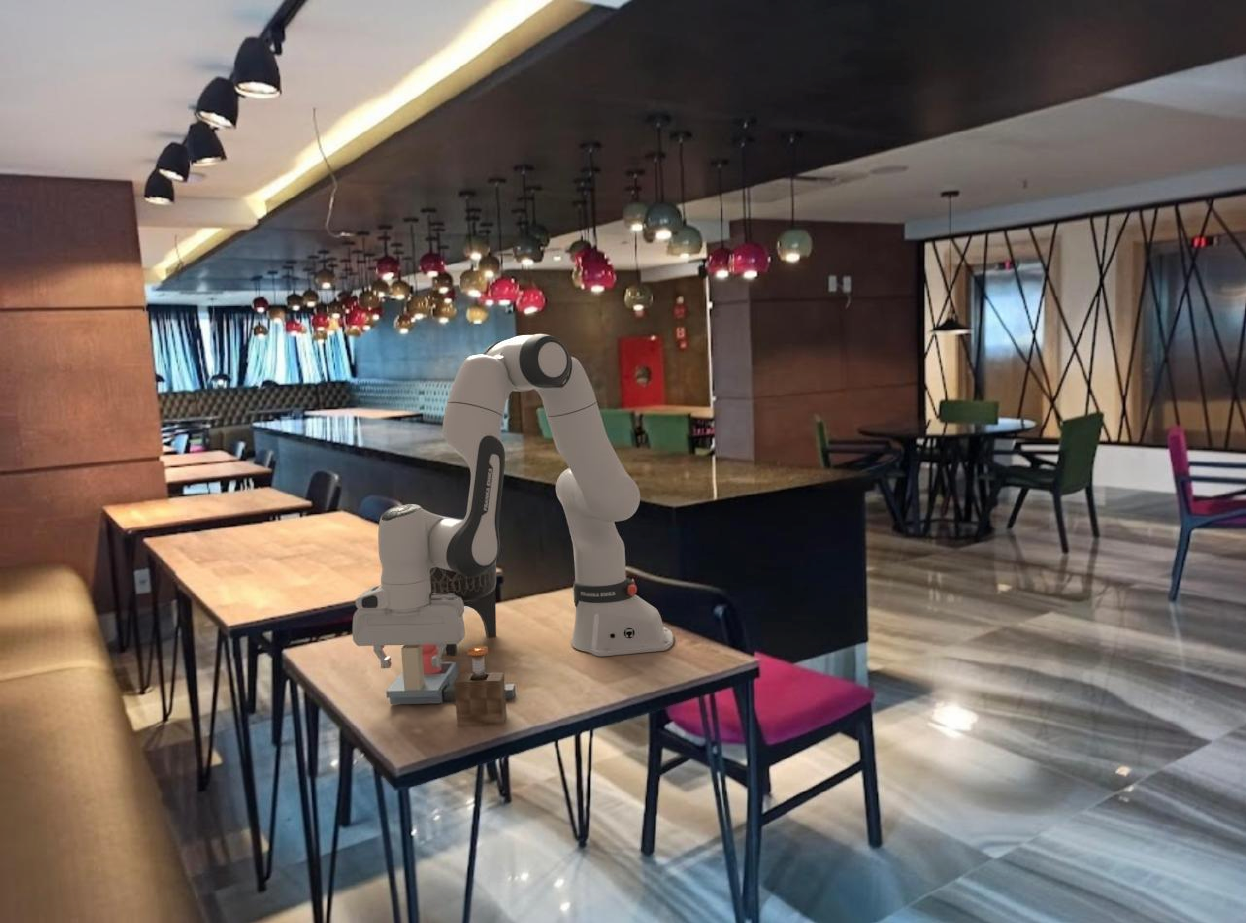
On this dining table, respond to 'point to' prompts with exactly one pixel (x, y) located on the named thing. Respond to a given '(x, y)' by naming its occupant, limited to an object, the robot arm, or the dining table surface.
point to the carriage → (420, 679)
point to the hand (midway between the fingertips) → (411, 666)
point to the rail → (449, 693)
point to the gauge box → (480, 700)
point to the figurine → (429, 659)
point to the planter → (469, 595)
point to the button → (478, 661)
